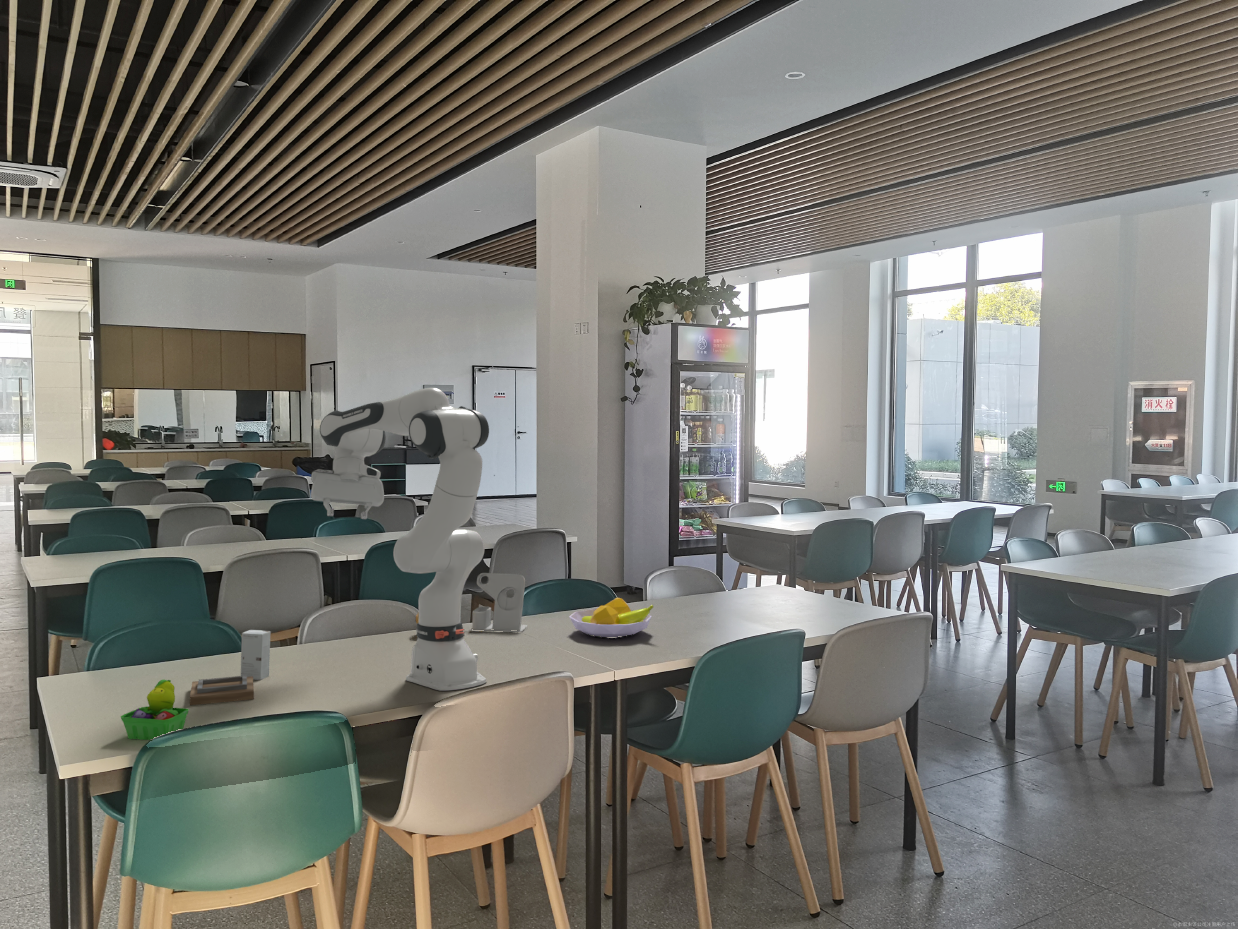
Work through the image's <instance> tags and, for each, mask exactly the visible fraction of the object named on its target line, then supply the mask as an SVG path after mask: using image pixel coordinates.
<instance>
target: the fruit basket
mask: <svg viewBox="0 0 1238 929" xmlns="http://www.w3.org/2000/svg"><path fill="white" fill-rule="evenodd" d="M171 681H172V680H170V679H160V680H159V681H158V682H157V683H156V685H155V686H154V688H152V690H150V692H149V693H148V694H147V696H146V700H147V703H148V706H142V707H138V708H136V709H134V710H132V711H129V712H127V713H124V714H122V715H120V718H121V722H123V726H124V728H125V731H126V734H127V735H126V736H127V738H128V739H129V740H141V741H151V740H150V739H153V738H154V737H157V736H160V735H162V734H166V733H168V732H171V731H176V730H178V729H183V730H184V727H185V723H186V720H187V715H189V710H190V709H189V708H182V707H174V704H175V701H176V696H175V685H174V684H173V683H172V682H171Z"/></svg>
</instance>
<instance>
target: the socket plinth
mask: <svg viewBox="0 0 1238 929" xmlns="http://www.w3.org/2000/svg"><path fill="white" fill-rule="evenodd" d="M254 688H255V687H254V679H253V676H251V677H247V675H246V676H241V675H236V676H226V677H225V676H224V677H212V678H202V679H198V680H194V681H192V682H191V688H190V692H189V693H190V694H189V706H199V705H209V704H210V705H211V704H217V703H229V702H239V701H249V700H250V701H251V700H255V698H254V697H255V689H254Z"/></svg>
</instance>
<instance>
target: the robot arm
mask: <svg viewBox="0 0 1238 929" xmlns="http://www.w3.org/2000/svg"><path fill="white" fill-rule="evenodd" d="M386 432H387V433H391V434H394V435H399V436H403V437H409V439H410V441H411V443H412V444H413V445H414V447H415V448H416V449H417V450H419V451H420V452H422V453H424V454H425V455H426V457H427V458H429V459H431V460H433V459H434V460H435V459H437V458H438V460H439V464H440V465H439V466H440V467H439V471H438V474H437V477H436V481H435V484H434V487H433V492H432V496H431V498H430V501H429V504H428V507H427V509H426V511H425V512H424V514H423V516H422V517H421V518H420V520H419V521H418V522H417V523H416V524H415V526H413V527H412V528H411V529H410V530H409V531H408V532H406V533H404V534H403V535H401V536H399V537H398V539H397V540H396V542H395V544H394V547H393V561H394V562H395V565H396V566H397V568H398V569H399V570H400V571H401V572H404V573H410V574H411V573H412V574H429V573H435V574H434V575H435V576H434V578H433V579H432V581H431V583H430V584H428V585H427V586H425V587H424V588H423V589H422V590H421V592H420V593H419V596H418V612H419V622H418V623H416V637H417V640H416V642H415V644H414V645H413V647H412V649H411V660H410V671H409V672H410V673H409V674H407V675H406V676H405V681H407V682H411V683H414V684H417V685H420V686H423V687H426V688H430V689H433V690H436V691H440V692H442V691H443V692H444V691H455V690H463V689H468V688H473V687H477V686H481V685H484V684H485V683H487V678H486V677H485V676H484V675H482V674H481V673H480V672H479V671H478V661H479V656H478V654H477V653H473V651H472V650H471V648H470V646H469V645H468V643H467V642H466V639H465V638H464V637H465V632H464V631H465V628H464V626H463V622H462V620H461V617H462V616H461V611H462V610H461V608H462V595H463V591H464V587H465V584H466V582H467V579H468V578H469V576H470V574H471V572H472V571H473V570H474V569H475V567H477V565H479V564H480V562H481V561H482V559H483V558H484V554H485V548H486V547H485V543H484V539H483V538H482V536H481V535H480V533H479V532H477V531H476V530H473V529H472V530H471V529H465V528H461V527H462V526H464V525H465V524H467V522H468V521H469V520H470V519H471V517H472V515H473V512H474V507H475V503H476V501H477V497H478V493H479V489H480V486H481V480H482V473H483V458H482V456H481V454H480V453H479V451H477V450H476V449H478V448H481V447H482V446H483V445H485V444H486V443H487V441H488V439H489V434H490V425H489V422H488V419H487V418H486V416H485V415H484V414H483V413H481V412H479V411H477V410H474V409H470V408H467V407H465V406H463V405H460V406H459V407H453V406H451V404H450V400H449V398H448V397H447V395H446V393H444V391H442V390H441V389H439V388H437V387H426V388H421V389H417V390H414V391H411V392H409V393H407V394H404V395H402V396H399V397H396V398H393V399H392V398H391V399H388V400H382V401H377V402H371V403H367V404H363V405H360V406H357V407H354V408H351V409H347V410H345V411H344V410H343V411H340V410H337V409H336V410H333V411H331V412H329V413H328V414H326V416H324V417H323V419H322V421H321V422H320V426H319V434H320V436H321V439H322V440H323V442H324V443H325V444H326V445H327V446H330V447H331V446H332V447H333V453H334V458H333V461H332V470H329V469H320V468H318V469H316V470H313V471H312V472H311V475H310V479H311V482H312V485H311V491H310V492H311V493H310V497H311V498H310V499H311V500H313V501H316V502H323V504H322V505H323V506H324V509H325V510H326V515H327V517H333V516H334V514H335V508H331V505H330V503H336V504H347V505H348V504H349V505H359V506H364V509H365V511H361V512H360V519H362V520H367V519H368V512H369V510H370V509H371V508H372V507H380V506H382V504H383V503H384V501H385V492H384V484H383V481H382V480H381V479H380V478H381V473H382V472H381V471H380V470H379V469H376V468H374V467H372V466H368V465H367V464H365V459H366V457H371V456H373V455H375V454H377V453H380V452H381V451H382V450H383V449H384V448H385V444H386V439H387V438H386V437H387V436H386Z"/></svg>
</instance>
